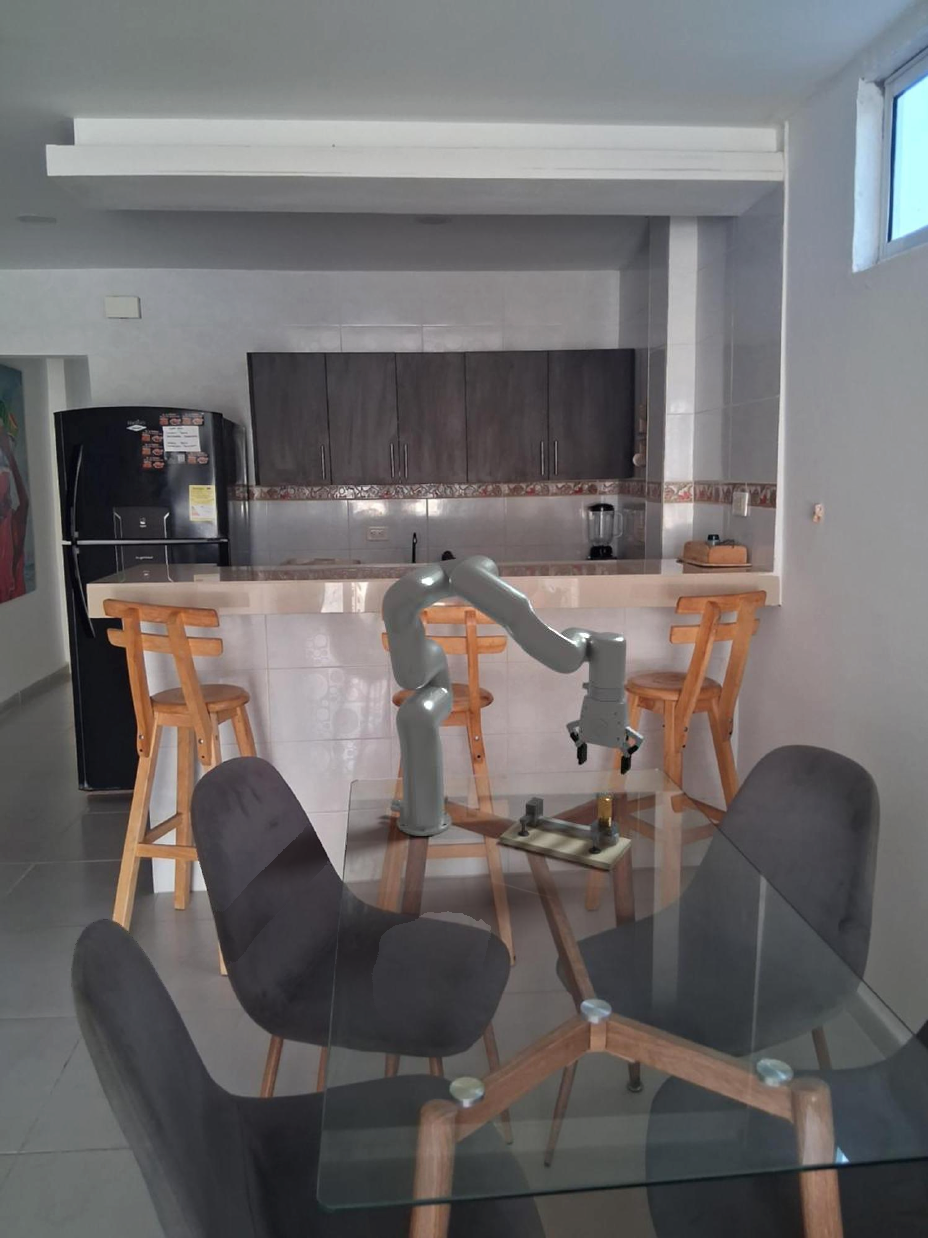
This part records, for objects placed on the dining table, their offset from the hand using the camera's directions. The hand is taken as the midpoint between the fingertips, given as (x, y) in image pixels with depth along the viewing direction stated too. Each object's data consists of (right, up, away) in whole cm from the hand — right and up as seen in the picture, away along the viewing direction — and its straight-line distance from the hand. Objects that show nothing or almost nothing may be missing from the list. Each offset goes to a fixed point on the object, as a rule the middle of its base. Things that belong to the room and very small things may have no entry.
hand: (603, 767), depth 203 cm
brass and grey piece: (0, -16, +2) cm, 17 cm away
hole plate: (-8, -18, +6) cm, 20 cm away
